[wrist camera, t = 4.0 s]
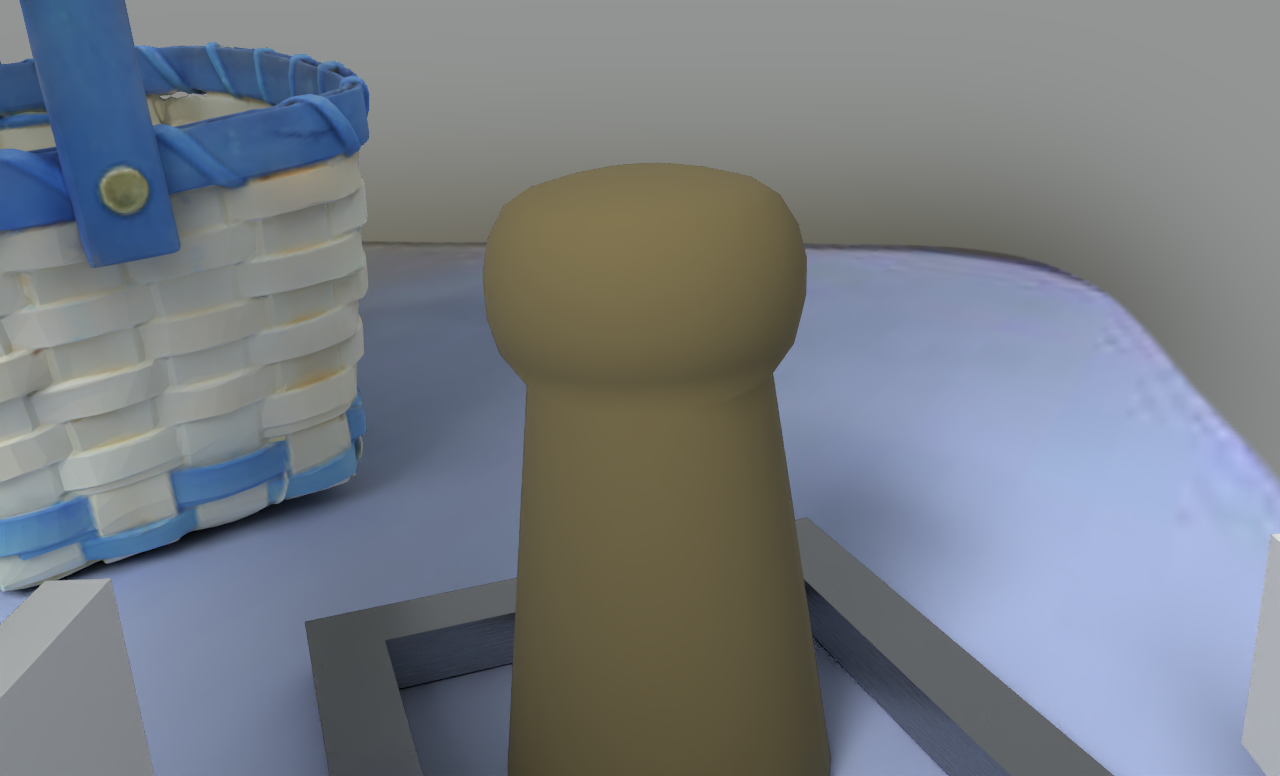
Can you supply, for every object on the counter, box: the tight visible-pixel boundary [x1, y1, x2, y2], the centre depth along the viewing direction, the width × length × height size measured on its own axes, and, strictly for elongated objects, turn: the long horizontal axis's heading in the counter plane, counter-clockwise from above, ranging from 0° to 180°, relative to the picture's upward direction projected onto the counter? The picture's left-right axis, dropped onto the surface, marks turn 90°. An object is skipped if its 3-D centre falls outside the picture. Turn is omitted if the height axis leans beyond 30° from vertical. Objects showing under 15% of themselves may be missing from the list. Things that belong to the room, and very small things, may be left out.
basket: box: [0, 0, 369, 592], centre depth 32 cm, size 21×16×24 cm
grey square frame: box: [305, 518, 1114, 776], centre depth 22 cm, size 12×12×1 cm
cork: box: [483, 163, 831, 776], centre depth 20 cm, size 6×6×11 cm
